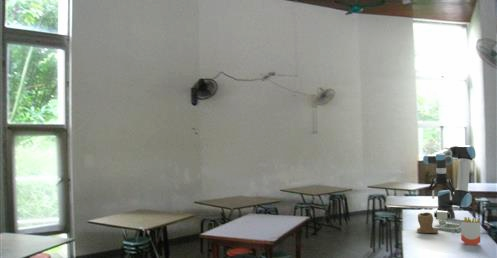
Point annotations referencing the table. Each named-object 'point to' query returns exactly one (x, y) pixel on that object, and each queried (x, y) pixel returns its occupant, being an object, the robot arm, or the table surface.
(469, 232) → the french fries container
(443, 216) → the pneumatic valve
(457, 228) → the docking tray
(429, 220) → the stone cup
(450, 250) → the table surface
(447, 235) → the table surface
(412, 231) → the table surface
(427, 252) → the table surface
